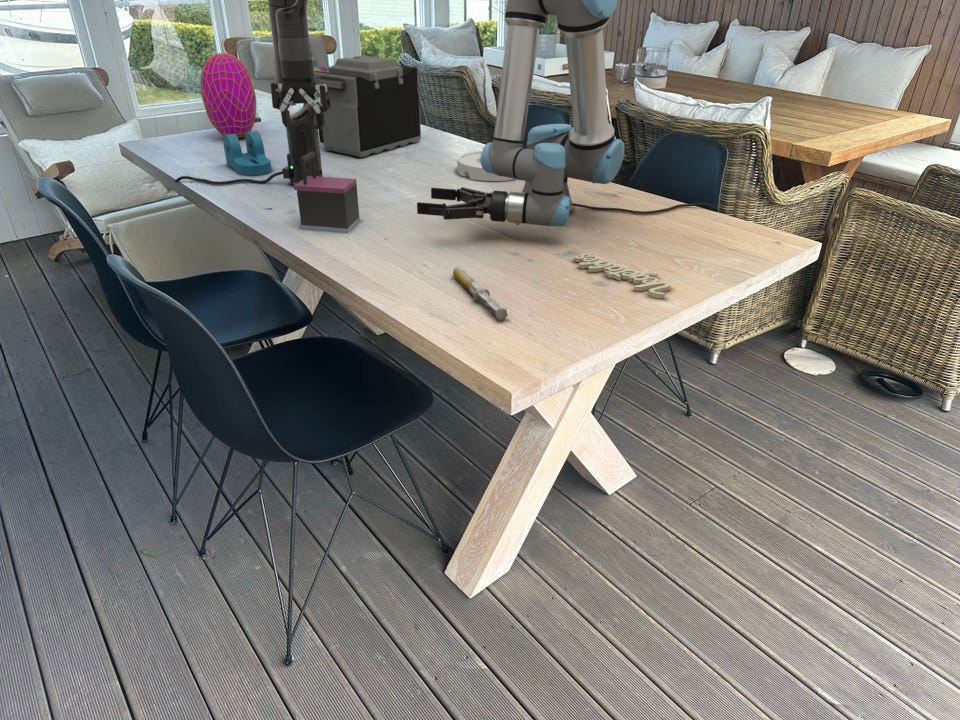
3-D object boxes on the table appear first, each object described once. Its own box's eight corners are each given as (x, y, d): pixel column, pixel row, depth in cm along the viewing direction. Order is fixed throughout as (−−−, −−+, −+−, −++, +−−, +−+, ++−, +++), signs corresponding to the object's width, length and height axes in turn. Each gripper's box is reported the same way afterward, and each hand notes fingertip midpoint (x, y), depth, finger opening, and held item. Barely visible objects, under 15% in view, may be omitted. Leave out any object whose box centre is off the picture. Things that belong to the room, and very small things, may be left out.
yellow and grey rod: (449, 274, 155) (449, 263, 153) (465, 272, 156) (464, 260, 154) (490, 323, 135) (491, 310, 133) (508, 319, 136) (508, 307, 134)
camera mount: (227, 164, 233) (221, 132, 227) (257, 160, 238) (252, 129, 233) (244, 176, 220) (239, 143, 215) (276, 172, 225) (271, 139, 220)
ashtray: (459, 161, 239) (459, 150, 237) (525, 163, 239) (526, 151, 237) (455, 180, 219) (455, 167, 217) (527, 181, 219) (528, 169, 217)
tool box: (383, 133, 276) (378, 52, 261) (425, 141, 265) (422, 56, 250) (314, 150, 251) (304, 61, 235) (358, 160, 240) (350, 67, 224)
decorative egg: (226, 145, 255) (211, 58, 240) (200, 137, 266) (184, 53, 251) (271, 137, 268) (259, 54, 252) (244, 129, 279) (231, 49, 263)
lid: (294, 190, 175) (290, 158, 171) (308, 180, 183) (305, 149, 179) (344, 193, 173) (341, 161, 169) (356, 183, 181) (354, 152, 176)
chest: (301, 228, 180) (296, 190, 175) (315, 217, 188) (310, 180, 183) (347, 232, 178) (344, 194, 173) (359, 220, 186) (356, 183, 181)
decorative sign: (686, 282, 150) (660, 295, 144) (686, 286, 150) (659, 300, 144) (592, 249, 166) (565, 259, 160) (592, 253, 167) (565, 263, 161)
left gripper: (260, 58, 161) (270, 129, 169) (318, 60, 158) (325, 132, 167) (275, 54, 167) (283, 123, 175) (330, 56, 165) (336, 126, 173)
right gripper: (498, 237, 162) (411, 230, 165) (513, 207, 183) (436, 201, 187) (499, 206, 158) (410, 199, 162) (515, 179, 180) (436, 173, 183)
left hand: (304, 127), depth 171 cm, fingers open, 8 cm apart
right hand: (424, 200), depth 174 cm, fingers open, 13 cm apart
